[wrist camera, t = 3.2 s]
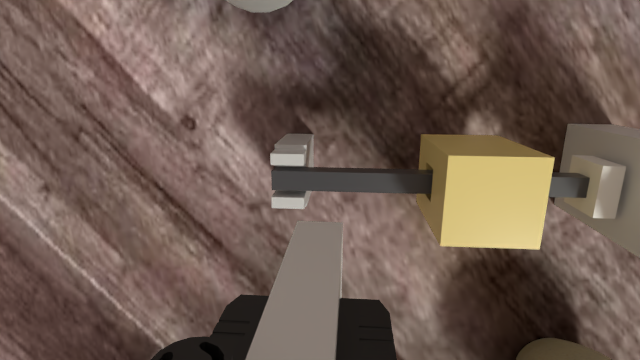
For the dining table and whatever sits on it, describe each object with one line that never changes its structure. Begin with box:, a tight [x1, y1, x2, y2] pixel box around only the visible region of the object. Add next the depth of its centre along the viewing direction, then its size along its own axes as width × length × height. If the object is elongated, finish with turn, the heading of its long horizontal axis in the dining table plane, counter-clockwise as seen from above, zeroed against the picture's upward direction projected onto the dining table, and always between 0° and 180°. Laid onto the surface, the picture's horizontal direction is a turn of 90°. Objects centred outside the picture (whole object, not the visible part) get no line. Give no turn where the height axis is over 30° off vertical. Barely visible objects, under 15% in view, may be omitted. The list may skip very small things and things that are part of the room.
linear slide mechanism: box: [270, 124, 640, 258], centre depth 23 cm, size 23×6×11 cm, turn 90°
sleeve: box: [416, 134, 555, 249], centre depth 23 cm, size 5×5×7 cm
